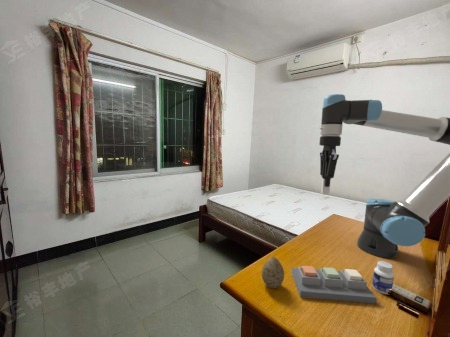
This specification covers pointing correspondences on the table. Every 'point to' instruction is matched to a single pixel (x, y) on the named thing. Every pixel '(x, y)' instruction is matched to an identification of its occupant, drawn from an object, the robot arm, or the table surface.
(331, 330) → the table surface
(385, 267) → the pill bottle
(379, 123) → the robot arm
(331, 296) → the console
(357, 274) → the cream button
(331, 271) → the sage button
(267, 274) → the decorative egg
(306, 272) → the terracotta button
